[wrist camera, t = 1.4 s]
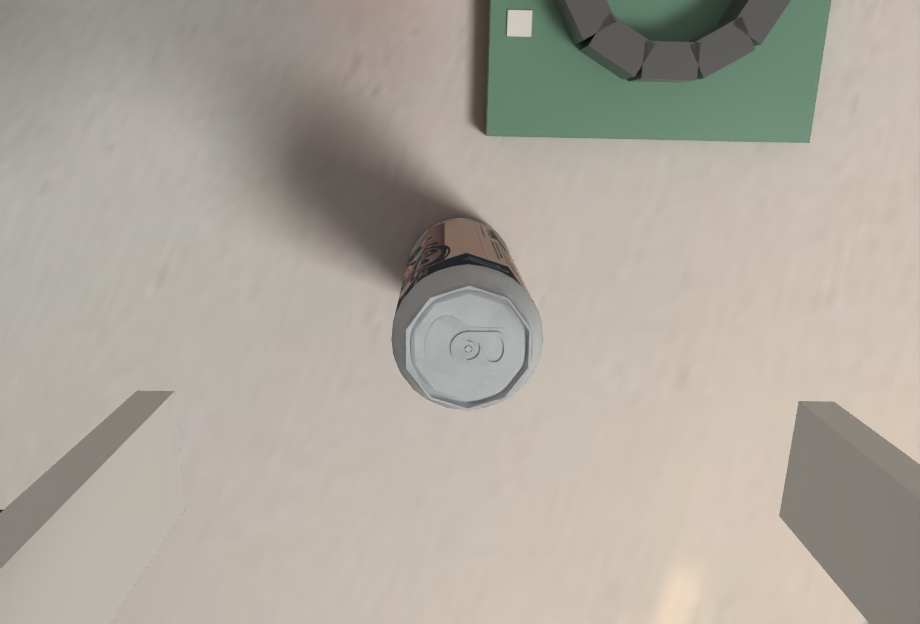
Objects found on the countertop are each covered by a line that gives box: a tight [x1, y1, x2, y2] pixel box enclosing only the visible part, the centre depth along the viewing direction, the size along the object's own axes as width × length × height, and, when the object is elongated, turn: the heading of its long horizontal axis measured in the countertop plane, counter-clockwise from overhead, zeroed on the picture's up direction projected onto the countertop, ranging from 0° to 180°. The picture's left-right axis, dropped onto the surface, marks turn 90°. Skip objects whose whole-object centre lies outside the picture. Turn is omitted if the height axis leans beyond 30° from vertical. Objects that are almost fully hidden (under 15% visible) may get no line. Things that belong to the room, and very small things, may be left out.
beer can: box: [392, 218, 543, 410], centre depth 27 cm, size 5×5×12 cm
